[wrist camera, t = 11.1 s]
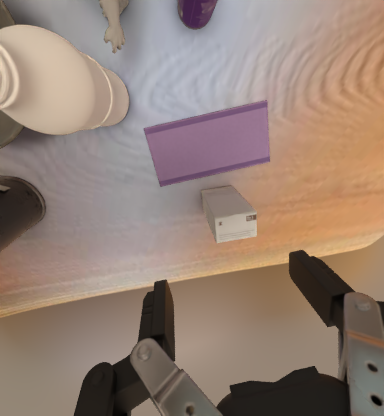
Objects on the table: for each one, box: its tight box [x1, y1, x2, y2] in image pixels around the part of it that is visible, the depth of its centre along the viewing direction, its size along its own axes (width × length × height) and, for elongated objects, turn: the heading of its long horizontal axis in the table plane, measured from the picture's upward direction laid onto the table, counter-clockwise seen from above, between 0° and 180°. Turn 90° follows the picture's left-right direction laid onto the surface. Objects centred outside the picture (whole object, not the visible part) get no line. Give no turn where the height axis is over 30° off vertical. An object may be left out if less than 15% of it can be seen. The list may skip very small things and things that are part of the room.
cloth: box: [144, 100, 270, 187], centre depth 35 cm, size 20×10×1 cm, turn 102°
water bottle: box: [0, 25, 129, 135], centre depth 20 cm, size 7×7×25 cm
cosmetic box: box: [201, 186, 257, 243], centre depth 34 cm, size 6×4×12 cm
